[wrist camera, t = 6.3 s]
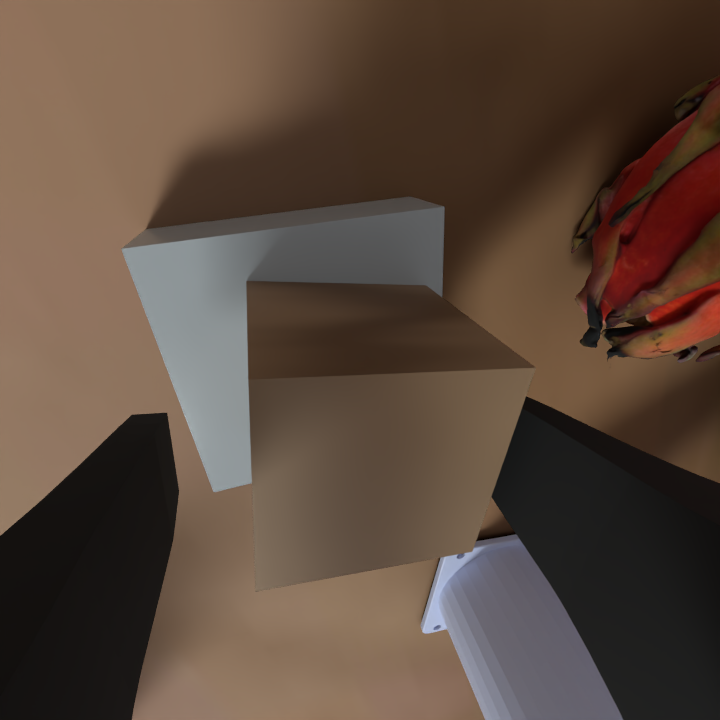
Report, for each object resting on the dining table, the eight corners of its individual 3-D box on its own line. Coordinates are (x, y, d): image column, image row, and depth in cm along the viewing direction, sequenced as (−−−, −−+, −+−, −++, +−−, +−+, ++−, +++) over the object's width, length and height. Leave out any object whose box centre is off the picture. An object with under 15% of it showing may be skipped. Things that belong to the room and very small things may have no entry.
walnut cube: (425, 285, 11) (535, 367, 7) (400, 425, 14) (472, 552, 9) (246, 281, 10) (248, 379, 6) (251, 437, 12) (255, 591, 8)
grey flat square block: (405, 195, 13) (444, 206, 10) (409, 393, 17) (438, 437, 14) (149, 226, 12) (121, 248, 9) (219, 435, 15) (213, 492, 13)
